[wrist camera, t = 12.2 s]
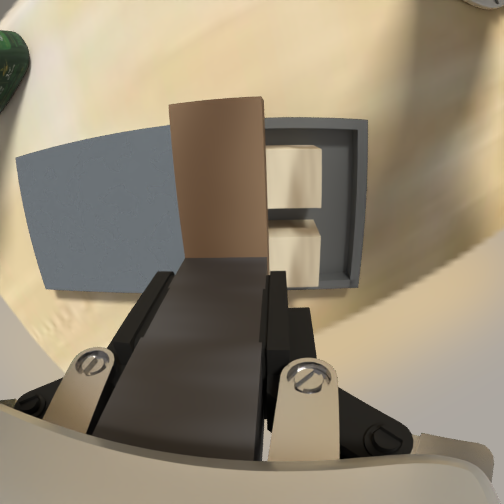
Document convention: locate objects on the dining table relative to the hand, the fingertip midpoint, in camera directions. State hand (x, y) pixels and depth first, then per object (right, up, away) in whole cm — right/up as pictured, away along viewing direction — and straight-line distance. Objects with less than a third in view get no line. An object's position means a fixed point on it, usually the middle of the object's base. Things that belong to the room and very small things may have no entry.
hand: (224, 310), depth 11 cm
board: (-11, +6, +16) cm, 20 cm away
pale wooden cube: (+2, +2, +14) cm, 14 cm away
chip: (+2, +8, +11) cm, 14 cm away
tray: (+5, +6, +15) cm, 16 cm away
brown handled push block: (0, +2, +3) cm, 4 cm away
